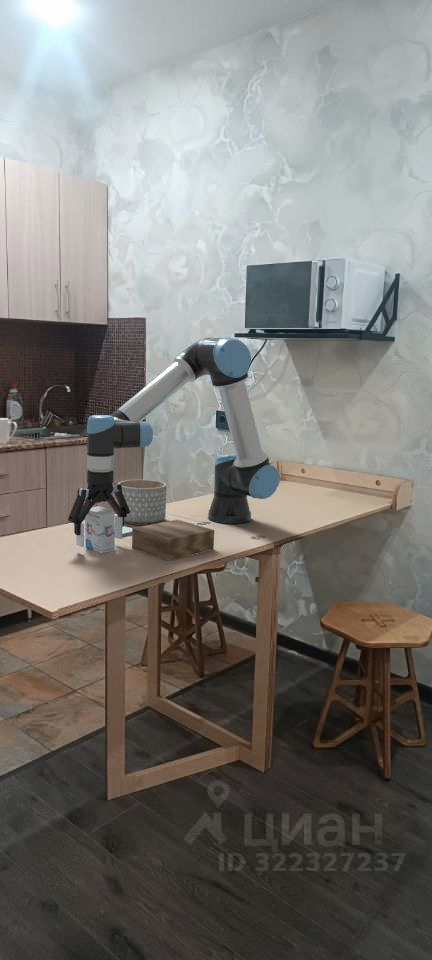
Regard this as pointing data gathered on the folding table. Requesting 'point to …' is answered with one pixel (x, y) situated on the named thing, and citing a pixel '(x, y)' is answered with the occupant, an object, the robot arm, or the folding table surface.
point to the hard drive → (126, 531)
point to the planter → (144, 501)
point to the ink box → (100, 529)
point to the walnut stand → (172, 539)
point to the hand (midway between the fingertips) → (99, 541)
